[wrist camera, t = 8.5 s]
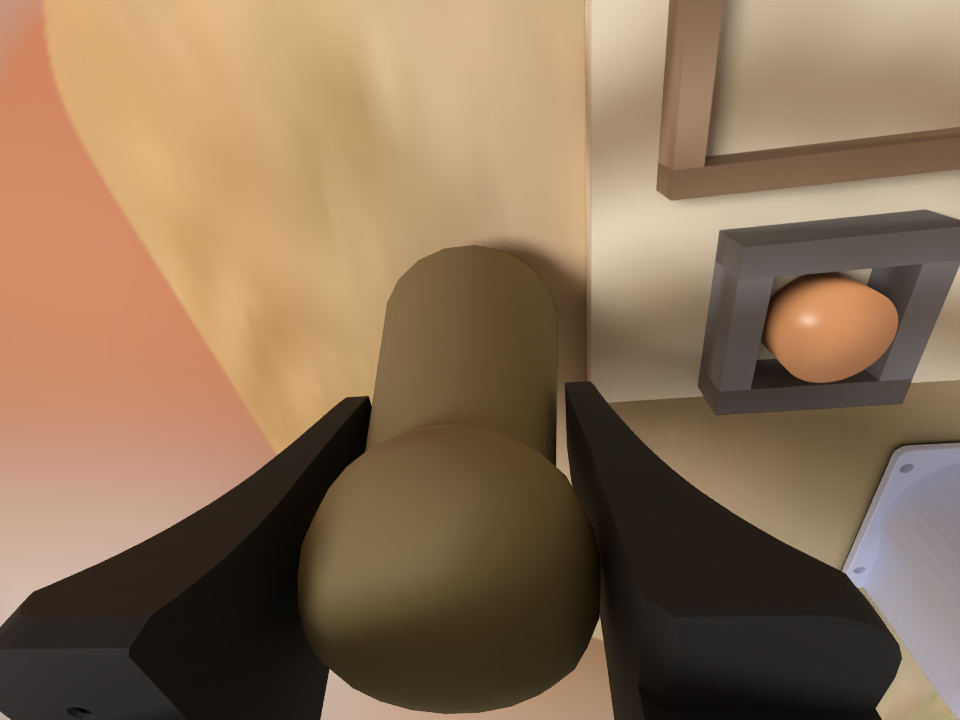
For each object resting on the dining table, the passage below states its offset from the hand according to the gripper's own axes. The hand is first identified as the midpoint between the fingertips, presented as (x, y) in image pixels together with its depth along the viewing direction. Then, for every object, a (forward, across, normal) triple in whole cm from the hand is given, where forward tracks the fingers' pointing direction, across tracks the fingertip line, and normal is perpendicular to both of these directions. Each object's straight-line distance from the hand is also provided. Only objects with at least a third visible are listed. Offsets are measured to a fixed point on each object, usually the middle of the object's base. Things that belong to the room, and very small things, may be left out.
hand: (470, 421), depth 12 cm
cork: (+5, 0, 0) cm, 5 cm away
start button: (+5, -11, 0) cm, 12 cm away
